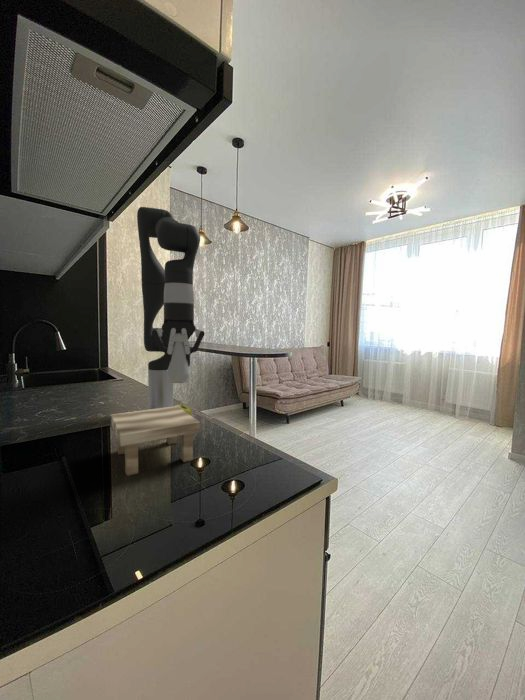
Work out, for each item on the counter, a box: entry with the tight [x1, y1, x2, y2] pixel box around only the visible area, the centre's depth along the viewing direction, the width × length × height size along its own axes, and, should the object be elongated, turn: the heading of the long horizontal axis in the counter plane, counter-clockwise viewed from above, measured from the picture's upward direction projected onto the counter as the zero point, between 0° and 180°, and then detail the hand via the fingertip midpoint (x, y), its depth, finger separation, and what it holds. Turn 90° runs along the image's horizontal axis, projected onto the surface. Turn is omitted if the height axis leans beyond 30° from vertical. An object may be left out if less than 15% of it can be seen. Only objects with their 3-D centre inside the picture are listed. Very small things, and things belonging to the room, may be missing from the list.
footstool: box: [110, 405, 201, 476], centre depth 76 cm, size 18×18×10 cm
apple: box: [173, 400, 193, 417], centre depth 96 cm, size 8×8×10 cm
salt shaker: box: [167, 333, 191, 384], centre depth 77 cm, size 6×6×13 cm
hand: (179, 368), depth 77 cm, fingers closed on salt shaker, 3 cm apart
